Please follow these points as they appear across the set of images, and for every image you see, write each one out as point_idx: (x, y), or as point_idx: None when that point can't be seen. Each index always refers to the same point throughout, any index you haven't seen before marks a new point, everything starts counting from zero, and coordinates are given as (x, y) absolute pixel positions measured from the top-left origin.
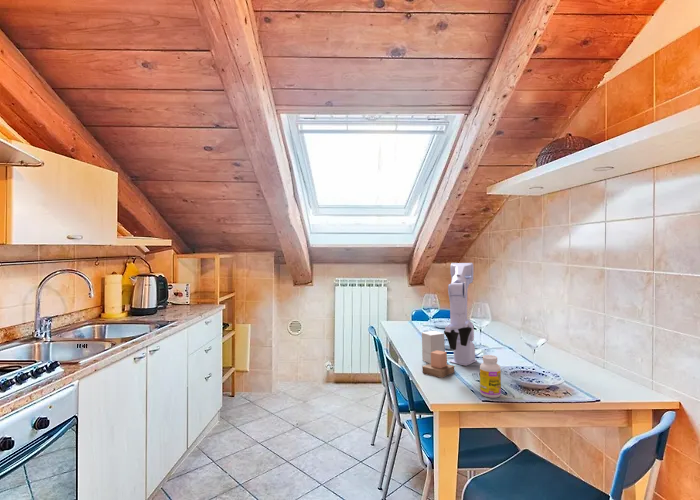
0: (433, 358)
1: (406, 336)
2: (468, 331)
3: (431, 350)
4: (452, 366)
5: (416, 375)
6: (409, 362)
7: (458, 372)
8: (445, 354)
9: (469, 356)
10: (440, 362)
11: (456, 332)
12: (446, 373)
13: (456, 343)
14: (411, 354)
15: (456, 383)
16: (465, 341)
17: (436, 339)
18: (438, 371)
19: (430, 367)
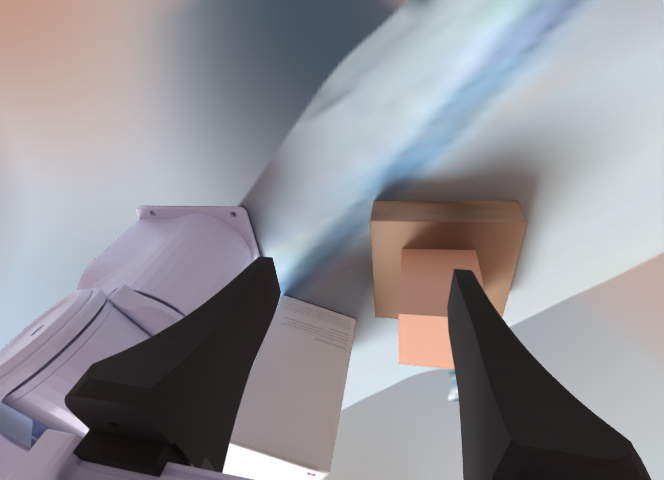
0: None
1: None
2: (175, 371)
3: (344, 378)
4: (388, 222)
5: (556, 301)
6: (396, 377)
7: (363, 182)
8: (416, 304)
9: (181, 233)
10: (481, 277)
11: (527, 476)
12: (463, 207)
13: (466, 311)
14: None
15: (588, 69)
16: (253, 290)
17: (296, 426)
18: (520, 239)
19: (492, 294)
